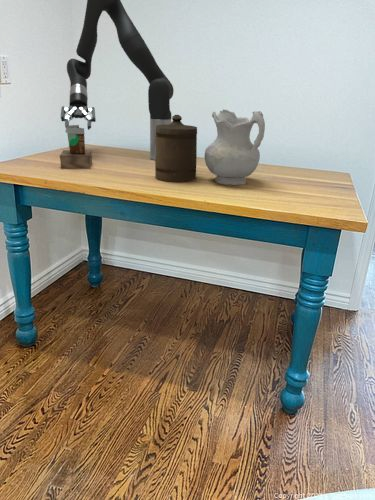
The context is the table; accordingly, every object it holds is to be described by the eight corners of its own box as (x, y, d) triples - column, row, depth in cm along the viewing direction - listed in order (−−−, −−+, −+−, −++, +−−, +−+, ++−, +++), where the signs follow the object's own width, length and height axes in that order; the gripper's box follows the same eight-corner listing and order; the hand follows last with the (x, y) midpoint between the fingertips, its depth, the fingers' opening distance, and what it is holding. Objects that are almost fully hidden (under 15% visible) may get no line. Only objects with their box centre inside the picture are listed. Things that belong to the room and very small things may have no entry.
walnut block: (92, 162, 173) (91, 150, 171) (90, 168, 162) (89, 155, 160) (64, 162, 171) (63, 150, 169) (60, 168, 160) (59, 155, 158)
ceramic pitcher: (270, 184, 151) (280, 113, 143) (250, 191, 135) (259, 110, 127) (217, 176, 161) (223, 109, 153) (192, 182, 145) (198, 106, 137)
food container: (64, 150, 169) (62, 124, 165) (80, 150, 171) (78, 124, 167) (69, 155, 158) (67, 128, 154) (85, 155, 160) (84, 128, 157)
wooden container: (178, 171, 162) (179, 112, 153) (204, 179, 151) (207, 116, 143) (147, 176, 153) (146, 113, 144) (172, 184, 142) (173, 117, 134)
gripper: (60, 91, 175) (59, 122, 169) (94, 92, 178) (94, 122, 171) (62, 103, 182) (61, 133, 176) (95, 104, 184) (96, 134, 178)
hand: (78, 128), depth 174 cm, fingers open, 8 cm apart
